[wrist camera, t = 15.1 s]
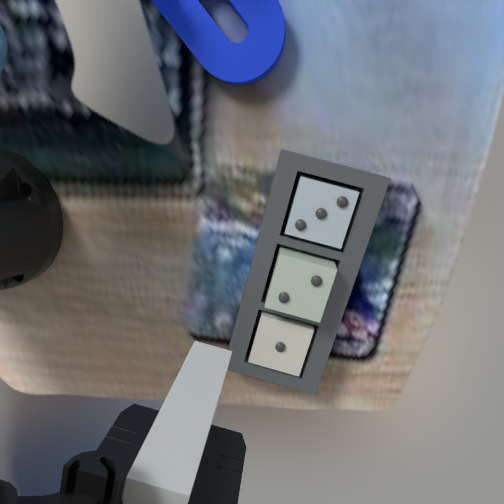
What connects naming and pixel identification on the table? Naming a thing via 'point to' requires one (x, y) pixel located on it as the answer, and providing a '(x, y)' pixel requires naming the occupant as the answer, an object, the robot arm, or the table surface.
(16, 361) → the table surface
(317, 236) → the key three
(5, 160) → the robot arm
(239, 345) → the keypad housing
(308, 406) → the table surface
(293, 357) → the key one
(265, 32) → the bracket
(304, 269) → the key two
